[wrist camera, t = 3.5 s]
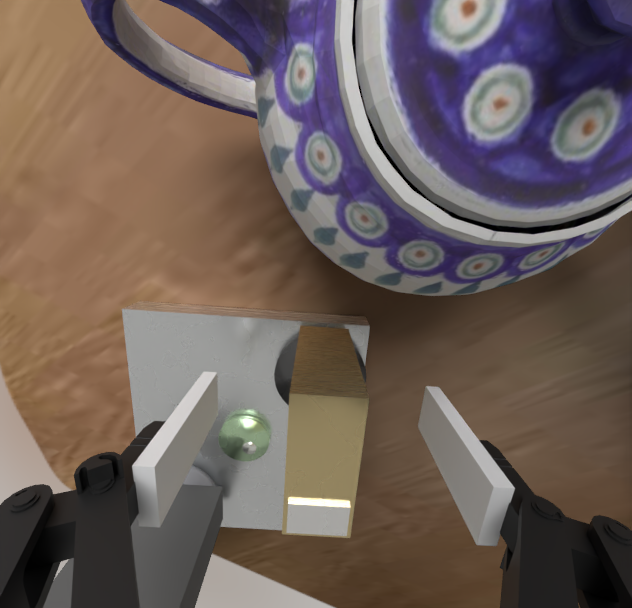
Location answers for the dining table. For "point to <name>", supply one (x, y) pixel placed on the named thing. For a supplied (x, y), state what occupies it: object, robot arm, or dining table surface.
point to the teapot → (422, 124)
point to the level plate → (225, 391)
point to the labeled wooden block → (322, 430)
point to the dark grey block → (167, 549)
